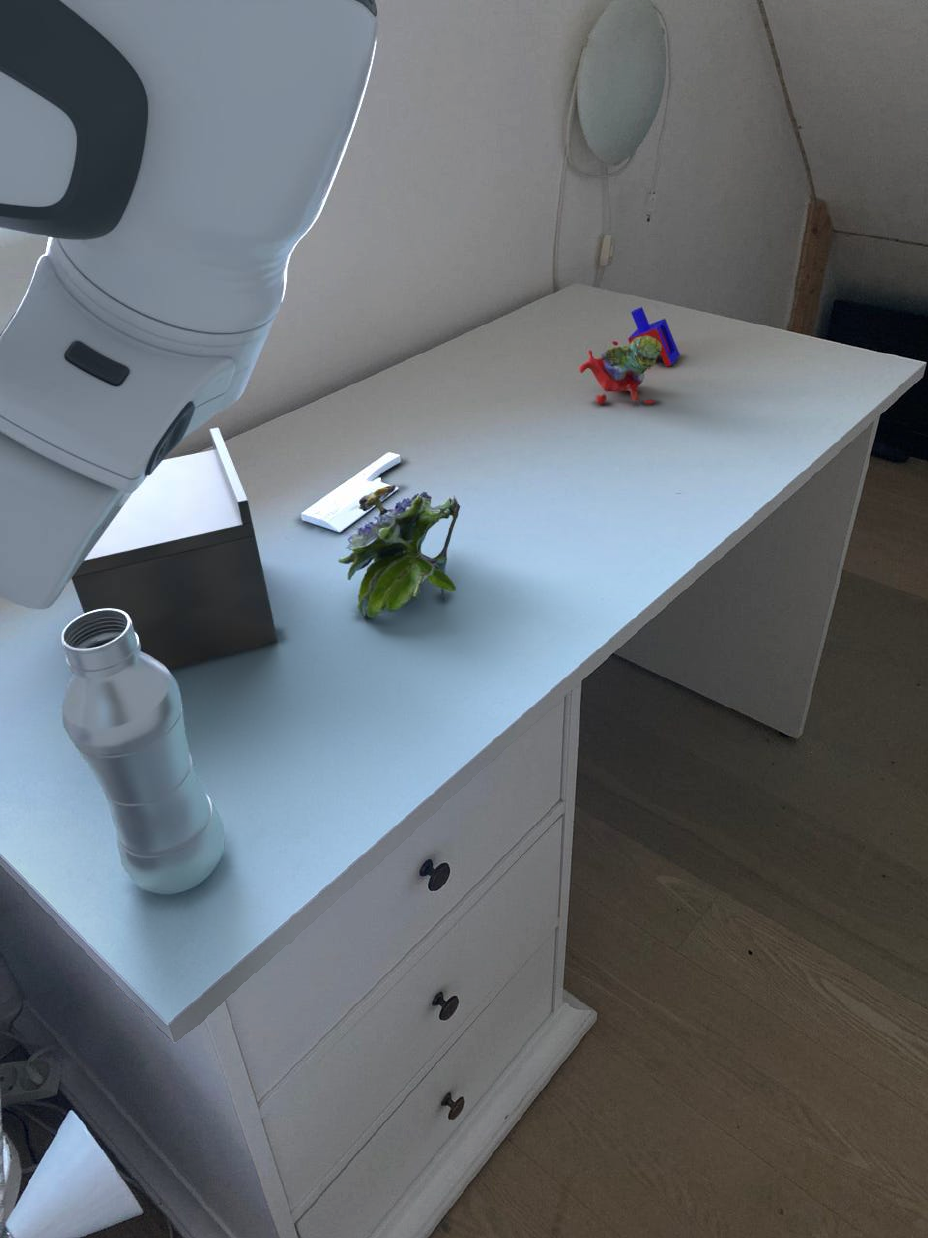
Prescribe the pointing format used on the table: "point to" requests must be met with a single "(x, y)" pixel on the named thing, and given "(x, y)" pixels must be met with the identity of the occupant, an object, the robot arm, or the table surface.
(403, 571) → the passion flower
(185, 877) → the plastic bottle
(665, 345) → the blue and red dreidel
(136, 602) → the block with raised lip
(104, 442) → the robot arm
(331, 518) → the white plastic strip tool
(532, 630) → the table surface
